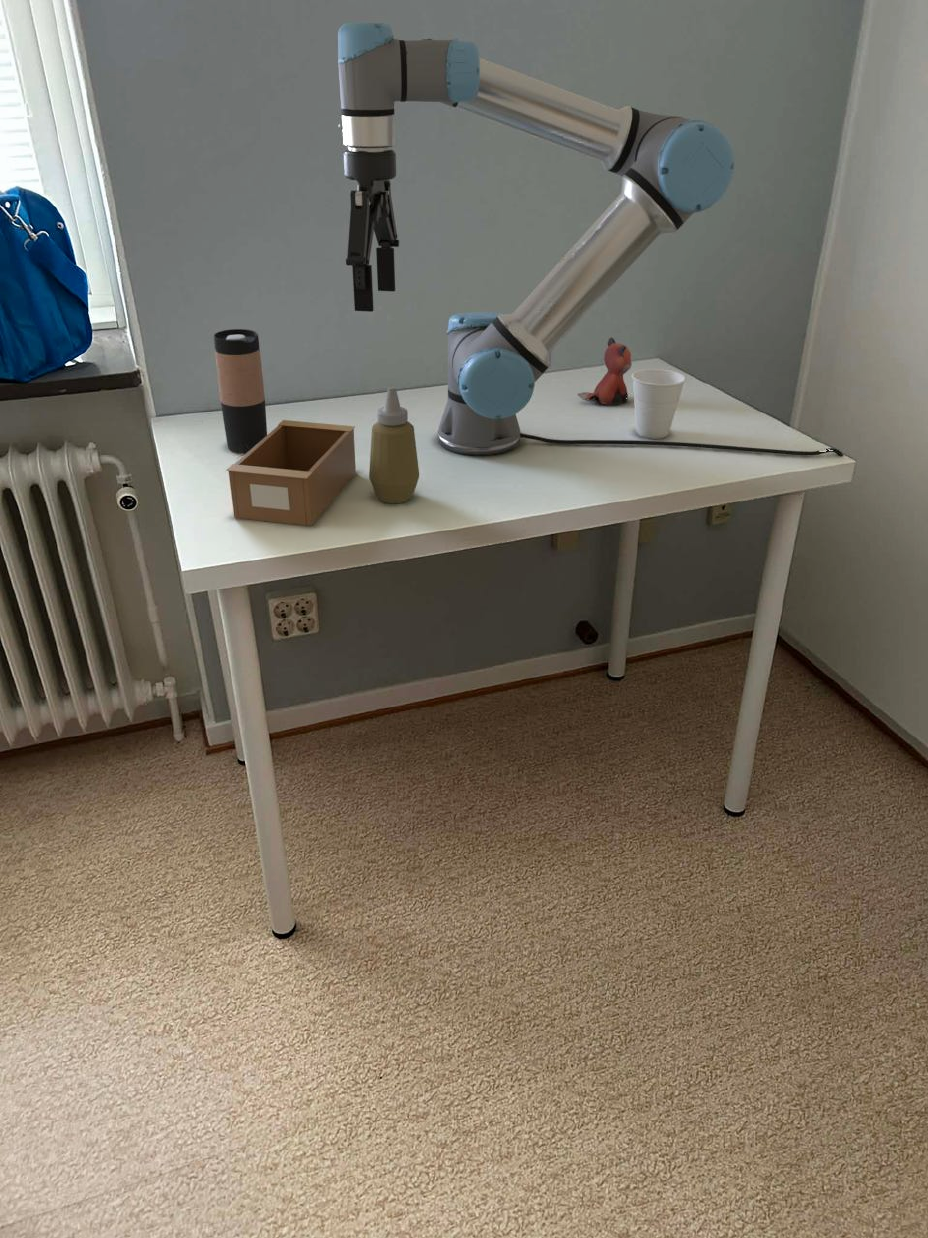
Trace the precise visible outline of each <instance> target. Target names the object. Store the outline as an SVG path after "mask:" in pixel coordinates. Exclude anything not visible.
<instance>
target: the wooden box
mask: <svg viewBox="0 0 928 1238" xmlns="http://www.w3.org/2000/svg"><path fill="white" fill-rule="evenodd" d="M355 428H356V426H355V425H346V424H345V425H343V424H333V423H322V422H313V421H312V422H311V421H302V420H301V421H299V420H289V419H282V420H281V421H280V422H279V423H278V424H277V426H276V427H275V428H273V430H271V431H270V432H269V433H267V436H266V437H265V438H263V439H262V440H261V441H260V442H259V443H258V444H257V445H255V446H254V447H253V448H252V449H251V450H250V451H249V452H247V453H244V455H243V456H241V458H239V459H238V460H237V461H236V462H235V463H232V464H231V465H230V466H229V467H227V468H226V470H225V471H227V472H228V478H229V486H230V495H231V502H232V503H231V504H232V511H233V512H232V513H233V519H241V520H243V519H244V520H251V521H260V522H269V523H277V524H287V525H295V526H307V527H312V526H313V525H314V524H315V523H316V522H317V520H318V519H319V518H320V517H321V516H322V515H323V513H324V512H325V511H326V510H327V508H328V507H330V505H331V504H332V503H333V501H334V500H335V499H336V498H337V496H338V495H339V494H340V493H341V492H342V491H343V490H344V488H345V487H346V486H347V485H348V483H349V482H351V480H352V479H353V477H354V476H355V475H356V473H357V470H356V469H357V468H356V466H357V465H356V450H355V449H356V448H355V447H356V445H355Z"/></svg>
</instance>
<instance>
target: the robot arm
mask: <svg viewBox="0 0 928 1238" xmlns="http://www.w3.org/2000/svg"><path fill="white" fill-rule="evenodd" d="M337 47H338V48H337V54H338V55H337V59H338V61H337V62H338V78H339V79H338V80H339V94H340V109H341V121H340V122H339V123H338V128H339V129H340V130H341V131H342V144H343V145H344V146H345V147H346V148H347V149H346V150H344V152H343V167H344V170H343V171H344V177H345V178H346V179H348V180H350V181H356V182H357V190H351V191H350V194H349V196H350V211H349V213H350V215H349V227H348V242H347V257H346V258H345V265H346V266H350V267H352V268H351V269H352V286H353V287H352V288H353V303H354V304H353V305H354V311H355V312H370V313H372V312H374V287H373V267H372V266H373V265H372V264H370V262H371V261H370V260H371V259H370V258H371V252H372V246H373V240H374V235H375V238H376V242H377V246H378V247H376V248H375V253H376V254H375V255H376V256H375V257H376V277H377V280H376V281H377V292H392V293H393V292H396V270H395V267H396V266H395V265H396V264H395V248H399V247H400V239H398V232H397V225H396V218H395V212H394V206H393V198H392V190H391V189H392V188H391V187H392V186H391V185H392V183H391V180H393V179H395V178H396V176H397V153H396V152H395V150H394V149H393V147H395V146H396V145H397V139H396V120H395V118H396V117H395V102H401V103H405V102H419V103H420V102H421V103H422V102H423V103H441V104H443V105H446V106H448V107H451V108H452V107H453V108H456V109H459V110H461V111H464V112H467V113H470V114H472V115H474V116H477V117H480V118H482V119H486V120H488V121H490V122H493V123H494V122H495V124H496V123H497V124H499V125H502V126H505V127H508V128H509V129H513V130H515V131H518V132H521V133H524V134H526V135H529V136H532V137H535V138H537V139H540V140H543V141H546V142H549V143H550V144H554V145H555V146H558V147H562V148H564V149H567V150H570V151H573V152H576V153H579V154H581V155H584V156H585V157H589V158H591V159H594V160H597V161H600V162H601V165H602V168H603V170H605V171H607V172H610V173H613V174H615V175H618V176H620V177H621V191H620V194H619V195H618V196H617V197H616V198H615V199H614V200H613V201H612V203H610V205H609V206H608V207H607V208H606V209H605V210H604V212H603V213H602V214H600V216H599V217H598V218H597V219H596V220H595V222H594V223H592V225H591V226H590V227H589V228H588V229H587V230H586V231H585V232H584V233H583V234H582V236H581V237H580V238H579V239H578V240H577V242H576V243H574V244H573V246H572V247H571V248H570V249H569V250H568V252H566V253H565V254H564V256H563V257H562V258H561V259H560V260H559V262H557V264H555V266H554V267H553V268H552V269H551V270H550V272H548V273H547V275H546V276H545V277H544V278H543V279H542V280H541V281H540V282H539V284H538V285H537V286H536V287H535V288H534V289H533V290H532V291H531V293H530V294H529V295H528V296H527V297H526V298H525V299H524V300H523V301H522V303H521V304H519V306H518V307H517V308H516V309H515V311H513V312H511V313H504V312H494V311H473V312H461V313H456V314H455V313H454V314H453V315H452V316H450V317H449V319H448V324H447V330H446V335H447V400H446V404H445V407H444V410H443V413H442V415H441V419H440V422H439V425H438V428H437V443H438V444H439V445H440V446H441V447H442V448H444V449H446V450H448V451H451V452H453V453H458V454H461V455H468V456H469V455H470V456H492V455H500V454H504V453H508V452H510V451H513V450H515V449H516V448H517V447H519V446H520V444H521V439H522V438H523V439H528V440H534V441H538V442H542V443H547V444H556V445H558V444H559V445H644V446H645V445H646V446H666V447H667V446H668V447H670V446H671V447H683V448H684V447H686V448H699V449H701V448H702V449H714V450H726V451H727V450H728V451H739V452H751V453H764V454H765V453H766V454H775V455H776V454H777V455H789V456H790V455H791V456H820V455H823V454H828V453H834V454H836V455H837V456H838V457H844V456H845V455H844V454H843V452H842V451H841V450H840V449H837V448H834V447H828V449H830V450H833V451H829V450H828V449H827V448H825V449H826V450H827V451H826V452H819V450H815V451H813V450H812V451H807V450H806V451H804V450H802V451H801V450H788V449H787V450H786V449H777V448H776V449H774V448H760V447H748V446H738V445H737V446H734V445H724V444H712V443H711V444H710V443H699V442H698V443H697V442H696V443H695V442H682V441H681V442H680V441H662V440H634V439H633V440H632V439H630V440H629V439H628V440H627V439H553V438H547V437H542V436H537V435H532V434H527V433H521V427H520V425H519V420H518V417H517V414H518V413H519V412H521V411H522V410H523V409H524V408H525V407H526V406H527V405H528V404H529V402H530V400H531V398H532V397H533V395H534V394H533V393H534V390H535V386H536V382H537V381H538V380H539V379H540V378H541V377H542V376H543V374H544V373H545V372H546V371H547V370H548V369H549V368H550V367H551V361H552V360H551V359H552V357H551V356H552V355H551V354H552V351H553V350H554V349H555V348H556V346H558V345H559V343H560V342H562V340H563V339H564V338H565V337H566V336H567V335H568V334H569V333H570V332H571V331H572V329H574V327H575V326H576V325H577V324H578V323H580V321H581V320H582V319H583V318H584V316H585V315H587V313H589V311H590V310H591V309H592V308H593V307H594V306H595V305H596V304H597V303H598V301H599V300H601V298H602V297H603V296H604V295H605V294H606V293H607V292H608V291H609V290H610V289H611V288H612V287H613V286H614V285H615V283H616V282H617V281H618V280H619V279H620V278H621V277H622V276H623V275H624V274H625V273H626V271H627V270H628V269H630V267H631V266H632V265H633V264H634V263H635V262H636V261H637V260H638V258H639V257H640V256H641V255H642V254H643V253H644V252H645V251H646V250H647V249H648V248H649V247H650V246H651V245H652V244H653V243H654V241H656V239H657V238H658V237H659V236H660V235H662V234H673V233H676V232H677V231H678V230H679V229H680V228H681V227H682V226H683V225H684V224H685V223H686V222H687V221H688V220H689V219H690V218H691V217H692V215H694V214H695V213H700V212H703V211H706V210H708V209H709V208H711V207H713V206H714V205H716V204H717V203H718V202H719V201H720V200H721V199H722V198H723V197H724V195H725V194H726V192H727V191H728V189H729V187H730V185H731V182H732V180H733V177H734V171H735V170H734V169H735V155H734V151H733V146H732V145H731V142H730V141H729V139H728V137H727V136H726V135H725V134H724V133H723V131H721V130H720V129H719V128H717V127H716V126H714V125H713V124H712V123H710V122H708V121H704V120H701V119H691V118H690V119H689V118H685V117H683V116H678V115H677V116H676V115H666V114H659V113H658V114H657V113H652V112H648V111H643V110H640V109H637V108H634V107H632V106H629V105H626V106H624V107H622V108H620V109H616V108H614V107H612V106H608V105H606V104H603V103H601V102H598V101H595V100H593V99H590V98H587V97H585V96H583V95H579V94H577V93H574V92H571V91H569V90H566V89H565V88H564V89H563V88H561V87H558V86H555V85H553V84H550V83H548V82H544V81H543V80H539V79H537V78H534V77H531V76H529V75H526V74H524V73H521V72H518V71H516V70H513V69H511V68H508V67H505V66H503V65H501V64H496V63H495V62H492V61H489V60H487V59H484V58H482V57H480V51H479V47H478V45H477V44H476V42H474V41H472V40H460V39H456V38H455V39H432V38H423V39H420V40H418V39H417V40H415V39H414V40H413V39H412V40H405V39H396V38H394V34H393V28H392V25H390V23H386V22H346V23H344V24H342V25H341V26H340V27H339V29H338V32H337Z"/></svg>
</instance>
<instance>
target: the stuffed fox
mask: <svg viewBox="0 0 928 1238" xmlns="http://www.w3.org/2000/svg"><path fill="white" fill-rule="evenodd" d="M631 356H632V354H631V351H630V349H629V348H628V347H627V345H625V344H622V343H617V342H616V340H615V338H614V337H609V338H608V341H607V348H606V349H605V352H604V356H603V358H604V364H605V367H606V369H607V372H606V373H605V374H604V375H603V377H602V379H600V381H599V382H598V383H597V385H596V386H595V388H594V390H593V392H587V391H586V392H585V391H583V392H579V393H577V396H578V397H579V399H581V400H582V401H586V402H595V401H598V400H599V403H600V405H603V404H604V405H606V406H607V405H608V406H614V405H617V406H618V405H620V404H625V403H628V400H629V399H628V397H629V393H628V390H627V389H628V388H627V385H626V383H625V380H624V374H626V373H627V372H629V370H630V369H632V357H631ZM626 398H627V399H626Z"/></svg>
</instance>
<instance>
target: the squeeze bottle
mask: <svg viewBox="0 0 928 1238" xmlns="http://www.w3.org/2000/svg"><path fill="white" fill-rule="evenodd" d="M399 399H400V398H399V396H398V392H397V387H396V386H392V385H391V386H388V387H387V391H386V397H385V402H384V406H383V407H381V408H378V410H377V421H376V422H375V423H374V424H373V425H372V427H371V440H370V441H371V442H370V455H369V472H368V478H369V481H370V484H371V486H372V489H373V491H374V494H375V496H376V498H377V499H378V500H379V501H381V502H384V503H388V504H398V503H405V502H407V501H409V500H411V499H412V498H413V497H414V493H415V491H416V489H417V484H418V481H419V479H420V468H419V460H418V452H417V451H418V450H417V444H416V443H417V442H416V435H415V434H416V433H415V427H414V425H413V424H412V423H411V422H410V421H408V417H409V416H408V409H407V408H405V407H403V406H401V403H400V400H399Z"/></svg>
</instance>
